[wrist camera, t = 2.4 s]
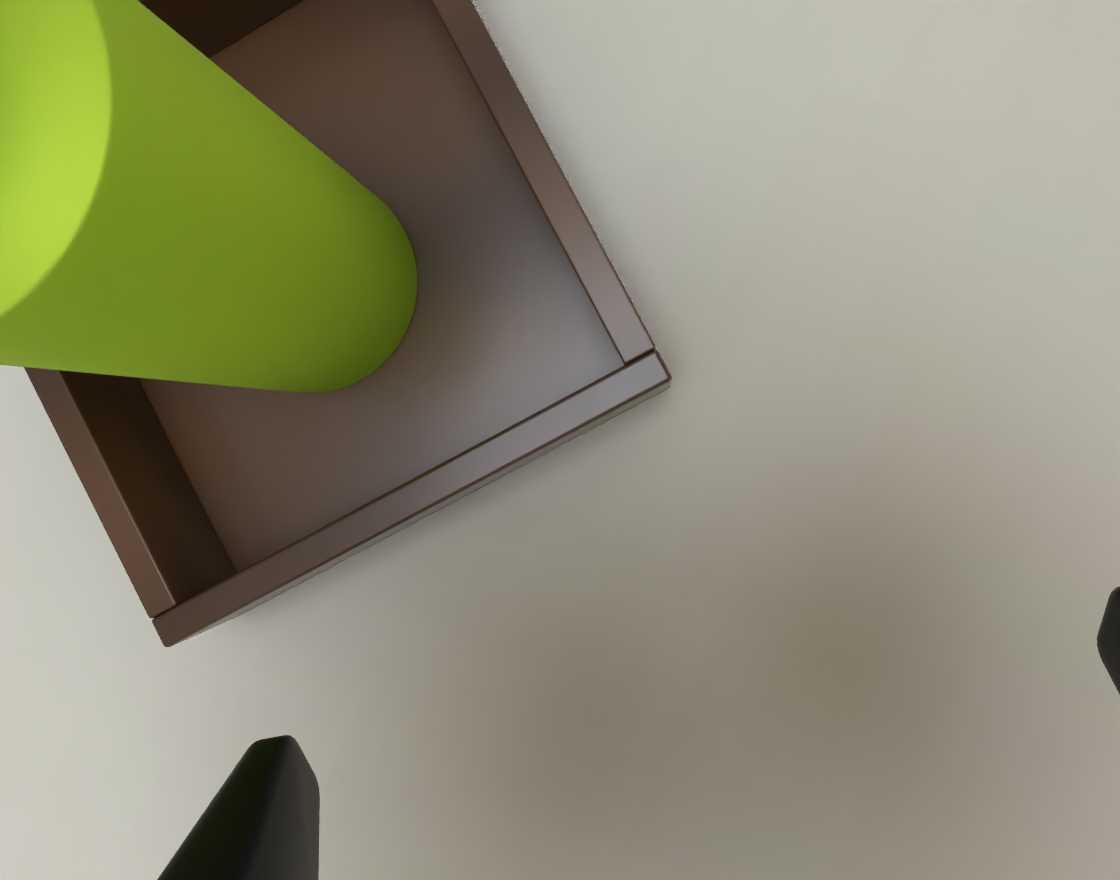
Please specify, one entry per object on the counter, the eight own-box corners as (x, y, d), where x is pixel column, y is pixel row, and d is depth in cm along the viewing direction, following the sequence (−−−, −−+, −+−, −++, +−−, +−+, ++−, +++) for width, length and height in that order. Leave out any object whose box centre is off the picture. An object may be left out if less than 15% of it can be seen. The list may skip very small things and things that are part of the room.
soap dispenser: (465, 184, 23) (-789, -1404, 3) (370, 426, 23) (-1295, 427, 3) (268, 107, 23) (-1872, -1644, 4) (178, 345, 24) (-2201, -55, 4)
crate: (670, 387, 23) (673, 379, 19) (238, 616, 24) (164, 649, 21) (417, -90, 23) (372, -185, 20) (9, 162, 25) (-104, 116, 21)
